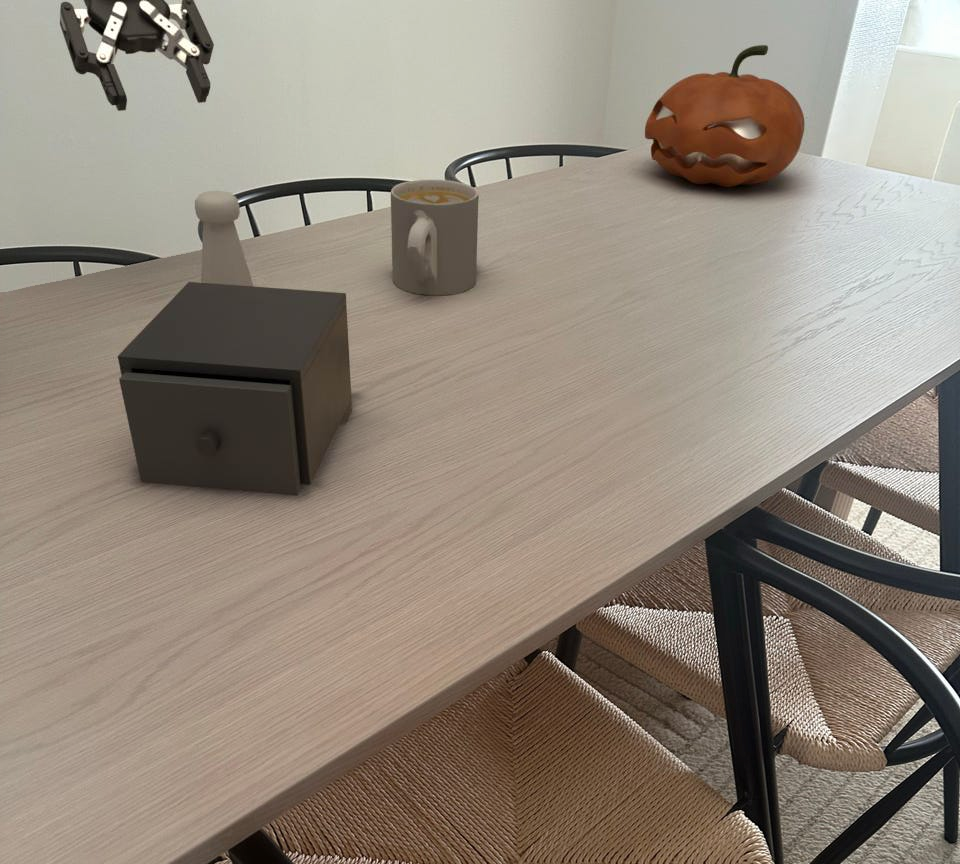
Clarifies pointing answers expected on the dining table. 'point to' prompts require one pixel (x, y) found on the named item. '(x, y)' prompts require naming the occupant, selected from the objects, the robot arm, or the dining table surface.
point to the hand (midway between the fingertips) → (163, 101)
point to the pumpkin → (726, 127)
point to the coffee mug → (434, 236)
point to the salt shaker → (221, 240)
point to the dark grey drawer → (213, 431)
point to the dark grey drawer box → (259, 350)
